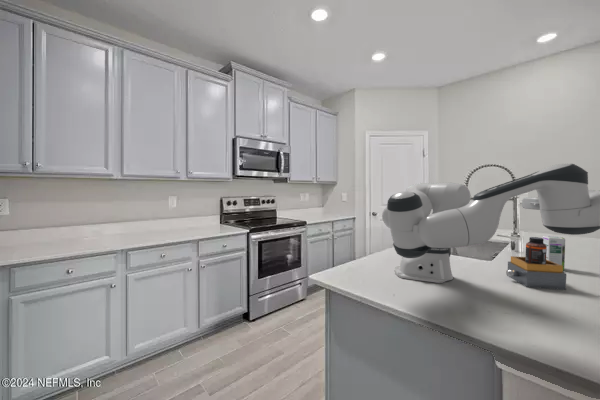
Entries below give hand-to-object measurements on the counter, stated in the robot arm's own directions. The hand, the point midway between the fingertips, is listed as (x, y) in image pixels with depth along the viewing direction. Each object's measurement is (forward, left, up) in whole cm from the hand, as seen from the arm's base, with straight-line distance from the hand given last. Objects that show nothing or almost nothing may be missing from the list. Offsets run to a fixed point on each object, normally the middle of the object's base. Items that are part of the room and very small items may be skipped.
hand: (547, 202), depth 89 cm
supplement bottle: (+4, +12, -26) cm, 29 cm away
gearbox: (+2, +12, -32) cm, 34 cm away
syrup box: (+23, +34, -32) cm, 52 cm away
